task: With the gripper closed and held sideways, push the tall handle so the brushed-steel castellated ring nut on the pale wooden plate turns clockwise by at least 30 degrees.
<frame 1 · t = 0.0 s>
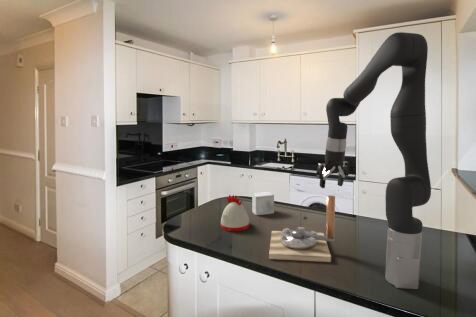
hand: (331, 186, 125), 22 cm above the counter, tool pointing down, fingers open, 8 cm apart
kitchen timer: (235, 226, 145), on the counter
skincare box: (263, 213, 163), on the counter
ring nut: (306, 219, 117), point 12 cm above the counter, hinge at 0.0°
nut base plate: (298, 247, 120), on the counter
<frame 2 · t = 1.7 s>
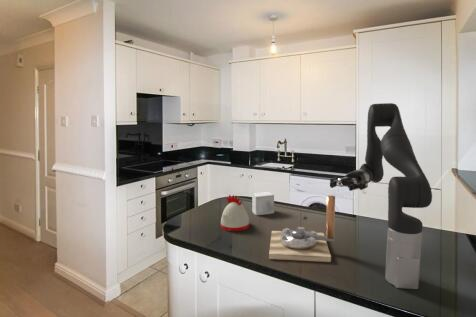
hand: (340, 186, 118), 24 cm above the counter, tool horizontal, fingers open, 7 cm apart
nothing on the counter moved.
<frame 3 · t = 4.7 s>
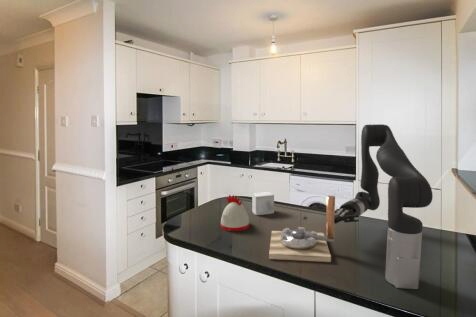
hand: (333, 220, 115), 12 cm above the counter, tool horizontal, fingers closed
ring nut: (306, 219, 117), point 12 cm above the counter, hinge at -1.4°, touching gripper
everything else where it was.
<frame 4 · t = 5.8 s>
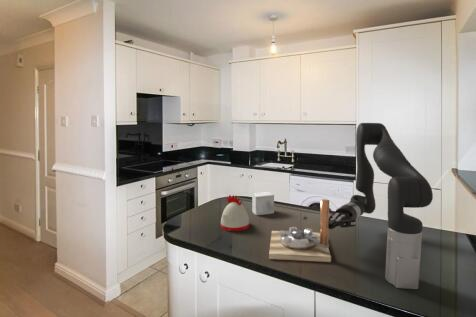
hand: (329, 226, 109), 12 cm above the counter, tool horizontal, fingers closed
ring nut: (305, 220, 116), point 12 cm above the counter, hinge at -30.2°, touching gripper
everything else where it was.
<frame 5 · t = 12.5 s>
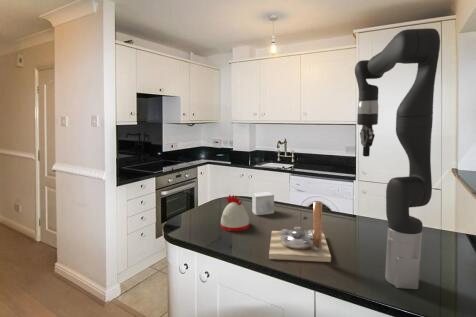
hand: (366, 156, 122), 35 cm above the counter, tool pointing down, fingers closed
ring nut: (303, 221, 116), point 12 cm above the counter, hinge at -47.1°
everything else where it was.
at the end: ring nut at -47° (first picture: +0°) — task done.
